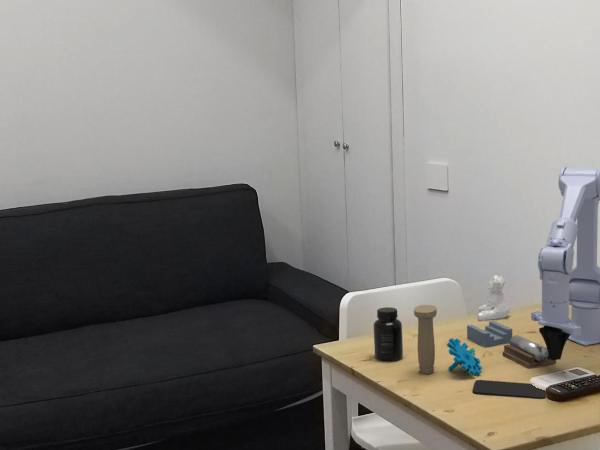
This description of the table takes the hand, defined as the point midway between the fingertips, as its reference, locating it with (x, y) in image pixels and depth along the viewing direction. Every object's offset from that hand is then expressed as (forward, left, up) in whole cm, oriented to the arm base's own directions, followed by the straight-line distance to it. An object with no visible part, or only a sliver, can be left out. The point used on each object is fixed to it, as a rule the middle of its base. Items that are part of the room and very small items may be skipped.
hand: (555, 358), depth 181 cm
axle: (0, -9, 0) cm, 10 cm away
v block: (0, -25, -3) cm, 26 cm away
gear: (+17, -10, -3) cm, 20 cm away
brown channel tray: (0, -9, -3) cm, 10 cm away
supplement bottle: (+28, -26, -3) cm, 39 cm away
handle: (+25, -13, -3) cm, 29 cm away
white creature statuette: (-13, -42, -3) cm, 45 cm away
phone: (+15, +4, -4) cm, 16 cm away
